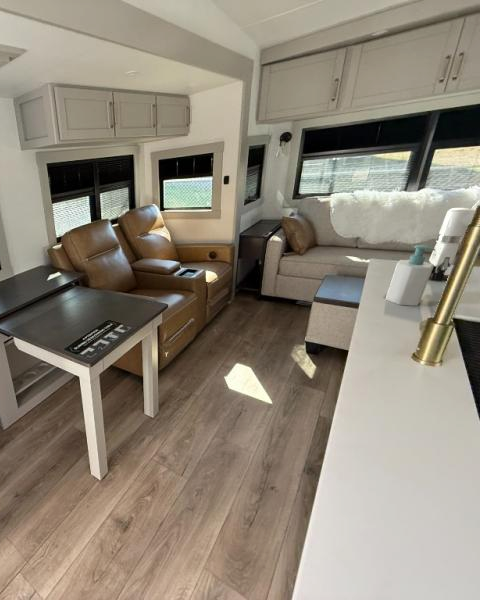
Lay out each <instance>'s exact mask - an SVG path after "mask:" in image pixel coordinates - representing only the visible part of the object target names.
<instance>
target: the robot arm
mask: <svg viewBox="0 0 480 600" xmlns="http://www.w3.org/2000/svg"><path fill="white" fill-rule="evenodd" d="M478 205H480V198H479V199H478V200H477V201H476V202H475V204H473V206H472V207H471V208H466V207H454V208H450V209H448V210H447V212H446V214H445V216H444V219H443V222H442V224H441V227H440V229H439V232H438V235H437V237H436V239H435V242H436V244H435V245H434V246H433V248H434V249H435V250H432V252H431V254H430V257H429V259H428V261H429V263H431V264H434V266H433V269H432V272H431V274H433V275H432V278H431V279H430V281H433V282H435V281H436V282H442V279H443V276H444V275H446V271H447V270H448V268H451V267H452V265H453V263H454V261H455V258H456V256H457V253H458V250H459V246H460V245H462V244H461V241H462V238H463V235H464V233H465V230H466V228H467V226H468V224H469V223H470V221H471V219H472V216H473V214H474V212H475V210H476V208H477V206H478Z"/></svg>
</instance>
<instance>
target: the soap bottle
mask: <svg viewBox="0 0 480 600" xmlns="http://www.w3.org/2000/svg"><path fill="white" fill-rule="evenodd" d="M413 248H414V249H415V251H414V253H413V254H411V255H410V257H409V259H400V260H399V261H398V262H397V263H396V266H395V269H394V272H393V275H392V278H391V281H390V284H389V287H388V290H387V293H386V296H385V300H386V301H387V302H391V303H392V304H395V305H398V306H411V307H417V306H418V305H419V304H420V302H421V300H422V297H423V295H424V292H425V289H426V288H427V284H428V282H429V280H430V279H429V277H430V274H431V272H432V269H433V266H434V264H432V263H431V262H426V261H425V260H426V255H424V254H425V252H426V250H430V251H433V250H435V249H434V247H432V246H428V245H422V244H418V245H414V247H413Z"/></svg>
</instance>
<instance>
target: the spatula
mask: <svg viewBox="0 0 480 600" xmlns="http://www.w3.org/2000/svg"><path fill="white" fill-rule="evenodd" d="M432 275H433V274H430V277H429V279H428V280H431V278H432ZM449 275H450V274H444V276H443V279H442V281H445V282H448V281H447V278H448V276H449ZM442 281H441V282H442Z"/></svg>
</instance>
